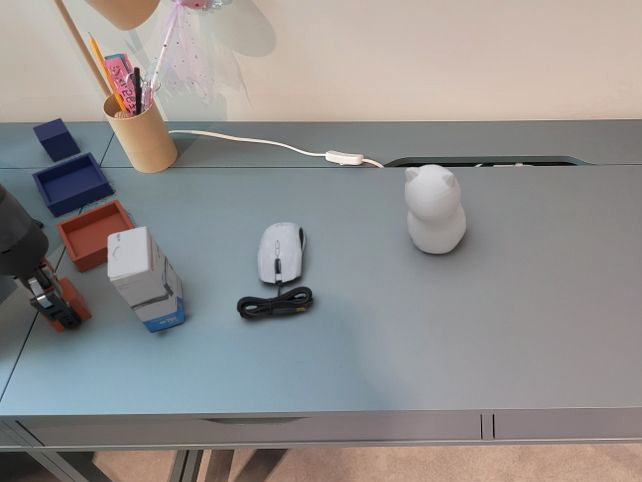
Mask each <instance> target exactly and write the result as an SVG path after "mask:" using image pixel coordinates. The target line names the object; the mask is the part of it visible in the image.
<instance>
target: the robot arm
mask: <svg viewBox="0 0 642 482" xmlns="http://www.w3.org/2000/svg"><path fill="white" fill-rule="evenodd" d="M49 246H50V241H49V238H48V236H47V235H46V234H45V232H44V231H43V230H42V228H41V227H40V226H39V224H37V222H36V221H35V220H34V218H32V216H31V214H30V213H29V212H28V211H27V210H26V208H25V207H24V206H23V205H22V203H21V202H20V201H19V200H18V199H17V198H16V197H15V195H14V194H12V193H11V192H10V191H9V190H8V189H7V188H6V187H5V186H4V185H3V184H2V183H1V182H0V277H7V276H8V277H12V280H13V282H14V283H15V284H16V285H17V287H18V288H19V289H21V290H23V291H24V292H25V293H26V294H27V296H28V297H29V298H30V299H29V302H30V303H29V304H30V306H32V307H33V308H34V309H36V310H37V311H38V312H39V314H40V313H42V314H43V315H44V316H45V317H46V318H48V319H49V320H50V321H51V322H54V321H56V320H58V321H59V322H60V323H61V324H62V326H63V327H64V328H66V329H67V330H69V329H72V328H74V327H76V326H78V325H80V324H81V323H82V322H83V321H82V320H81V318H80V316H79V315H78V314H77V313H76V311H75V310H74V309H73V308H72V307H71V306H70V303H69V302H68V301H67V300H66V299H65V298H64V296H63V295H62V294H63V289H62V287H61V285H60V284H59V283H58V280H59V277H58V274H57V272H55V269H54V267H53V265H52V263H51V262H50V261H49V260H48V259H47V257H46V255H47V253H48V251H49V248H50V247H49ZM52 285H53V286H54V288H52V289H50V290H48V291H45V290H46V289H48V288H50V287H51V286H52ZM66 329H65V330H66Z"/></svg>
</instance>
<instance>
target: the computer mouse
mask: <svg viewBox="0 0 642 482" xmlns="http://www.w3.org/2000/svg"><path fill="white" fill-rule="evenodd" d="M306 239H307V238H306V233H305V230H304V228H303V227H302V225H301V226H300V225H299V224H298V223H295V222H290V221H289V222H288V221H287V222H286V221H285V222H284V221H283V222H277V223H274V224H271V225H270V226H268V227H267V228H266V229H265V230H264V232H263V234H262V236H261V239H260V242H259V247H258V251H257V256H256V259H257V260H256V261H257V262H256V263H257V264H256V266H257V274H258V280H259V281H261V282H265V283H270V284H276V283H277V295H276V296H274V297H268V298H264V297H257V296H251V295H250V296H249V295H248V296H243V297H241V298H239V300H238V301H237V302H236V311H237V312H238V314H239V316H240V318H242V319H245V320H250V319H254V318H256V317H259V316H262V315H267V316H272V315H273V316H274V315H275V316H276V315H291V314H296V313H297V312H305V311H306V305H309V304H310V303H312V302H313V301H314V298H313V291H312V289H311V288H310V287H307V286H304V285H303V286H302V285H301V286H297V287H294V288H291V289H290V290H288V291H286V292H284V293H281V288H282V287H283V283H287V282H289V281H293V280H294V279H296V278H298V277H301V276H302V267H303V266H302V265H303V255H304V251H305V249H306V243H307V241H306ZM298 295H299V296H298ZM302 295H305V296H302ZM296 296H297V297H296ZM248 307H253V308H248Z"/></svg>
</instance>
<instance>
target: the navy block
mask: <svg viewBox="0 0 642 482" xmlns="http://www.w3.org/2000/svg"><path fill="white" fill-rule="evenodd" d="M32 130H33V132H34V134H35V136H36V138H37V140H38V142H39V143H40V145H41V146H42V148H43V149H44V150H45V152H46V153H47V155H48V156H49V158H50V159H51V161H52V162H53V163H56V162H58V161H60V160H63V159H66V158H69V157H71V156H74V155H77V154H79V153H82V151H81V148H80V147H79V146H78V143H77V142H76V140H75V138H74V136H73V135H72V134H71V132H70V131H69V129H68V127H67V126H66V123H65V122H64V121H63V119H62V117H59V118H56V119H53V120H50V121H48V122H45V123H41V124H39V125H36V126H33V127H32Z"/></svg>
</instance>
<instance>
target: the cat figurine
mask: <svg viewBox="0 0 642 482" xmlns="http://www.w3.org/2000/svg"><path fill="white" fill-rule="evenodd" d="M404 177H405V180H406V182H405V185H404V192H403V193H404V202H405V205H406V207H407V209H408V213H407V216H406V226H407V229H408V234H409V236H410V238H411V240H412V242H413V244H414V245H415V246H416V247H417V248H418V249H419V250H420V251H422V252H425V253H428V254H435V255H436V254H437V255H438V254H439V255H440V254H447V253H449V252H451V251H453V249H455V247H456V246H457V245H459V243H460V241H461V240H462V238H463V237H464V235H465V233H466V230H467V217H466V211H465V210H464V207H463V205H462V204H461V200H462V199H461V198H462V189H461V186H460V184H459V181H458V179H457V178H456V176H455V175H454V173H453V172H451V171H450V170H449V169H448V168H445V167H443V166H441V165H438V164H425V165H422V166H419V167H415V166H414V167H413V166H412V167H407V168H406V169H405V170H404Z"/></svg>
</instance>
